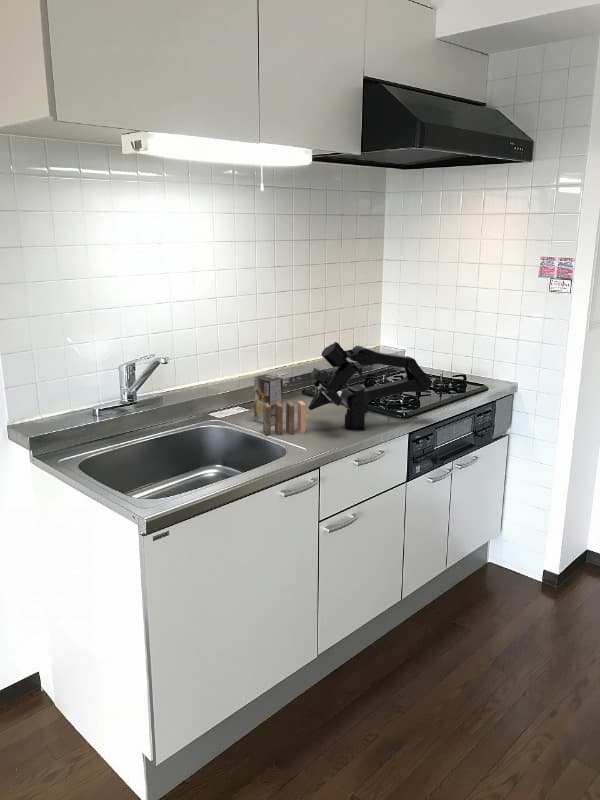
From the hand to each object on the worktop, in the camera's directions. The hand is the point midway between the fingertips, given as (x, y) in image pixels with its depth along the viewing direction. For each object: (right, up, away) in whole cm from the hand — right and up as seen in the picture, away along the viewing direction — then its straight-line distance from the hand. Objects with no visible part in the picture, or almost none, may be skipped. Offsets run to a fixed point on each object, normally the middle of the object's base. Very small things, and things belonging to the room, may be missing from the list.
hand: (309, 409), depth 223 cm
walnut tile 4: (-14, -8, -1) cm, 16 cm away
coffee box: (-14, -5, +12) cm, 19 cm away
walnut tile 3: (-10, -8, 0) cm, 13 cm away
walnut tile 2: (-7, -8, 0) cm, 10 cm away
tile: (-3, -8, +1) cm, 8 cm away
